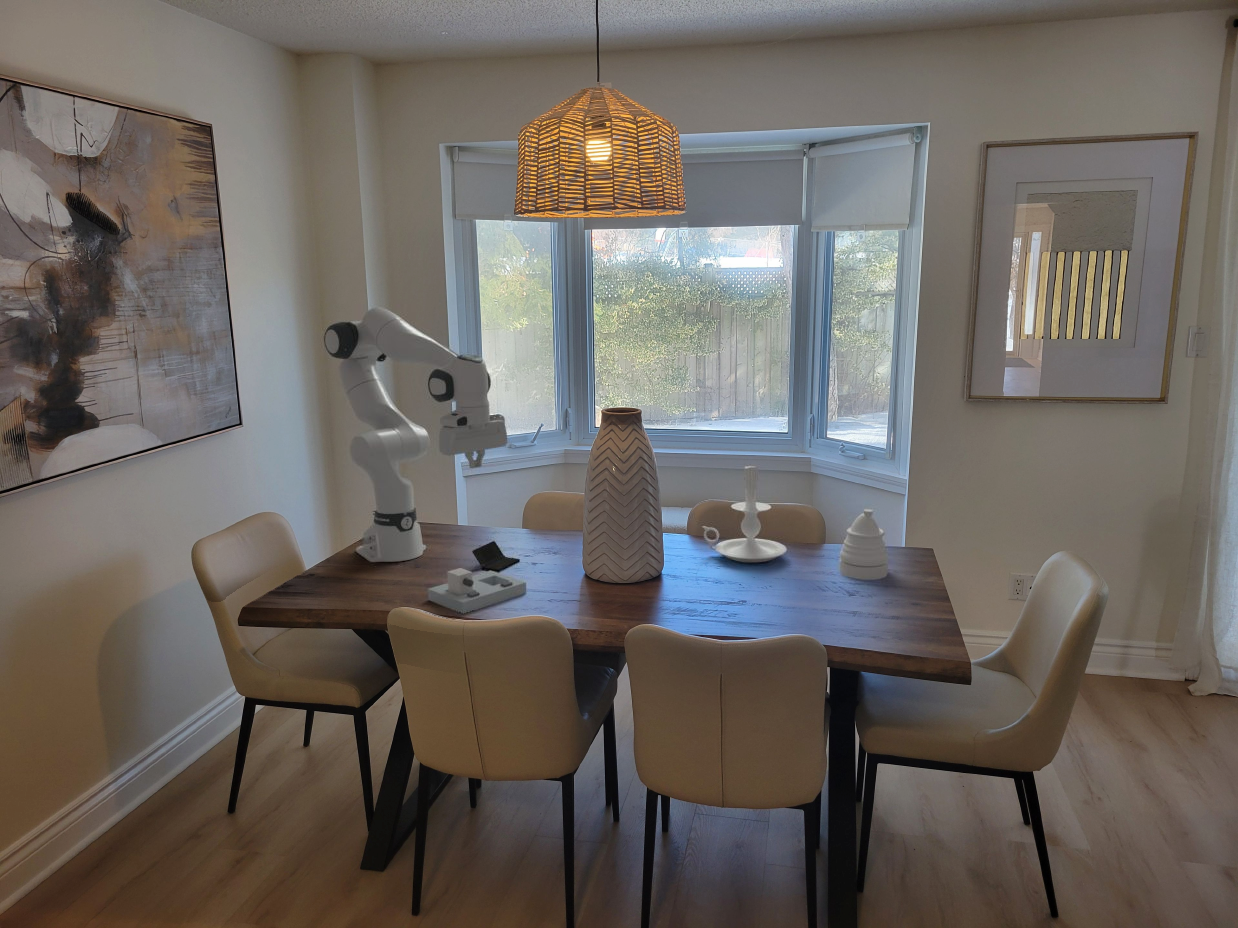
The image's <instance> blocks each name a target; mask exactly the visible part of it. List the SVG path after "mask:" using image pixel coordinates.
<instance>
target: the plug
mask: <svg viewBox="0 0 1238 928" xmlns="http://www.w3.org/2000/svg"><path fill="white" fill-rule="evenodd" d="M446 576H447V583H448V592H449V593H452V594H454V595H457V596H462V595H465V594H467V593H470V592H473V583H474V582H473V580H472V576H473V572H472V571H470V570H467V569H465V568H462V567H459V568H456V569H451V570H448V571H447V573H446Z"/></svg>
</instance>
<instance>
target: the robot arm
mask: <svg viewBox="0 0 1238 928" xmlns="http://www.w3.org/2000/svg"><path fill="white" fill-rule="evenodd" d="M323 339H324V340H323V341H324V347H325V349H326V351H327V353H328V354H329V356H331V357H333V358H335V359H339V360H341V362H340V363H339V365H338V372H339V376H340V379H341V383H342V386H343V389H344V392H345V394H346V397H347V398H348V401H349V403H350V405H351V407H352V410H353V412H354V414H355V417H357V420H359V421H360V422H361V423H364V424H366V425H369V426H371V427H372V428H373V430H368V431H364V432H362V433H360V434H358V435H356V436H354V437H353V438H352V440H351V441H350V444H349V445H350V446H349V455H350V458H351V459H352V461H353V463H354V464H355V466H357V467H358V468H361V469H362V470H364V472H365V473H366V474H367V476H368V477H369V479H370V481H371V483H372V486H373V491H374V499H375V508H376V510H373V511H372V513H373V514H372V515H373V523H371V525H370V526H369V527H368V528H367V529H366V530H365V531H364V533H363V536H362V539H361V540H362V543H363V545H359V546H357V547H356V549H355V552H356V553H357V554H359V555H361V557H363V558H365V560H367V561H368V562H370V563H378V562H379V563H380V562H390V563H391V562H392V563H393V562H394V563H395V562H402V561H408V560H413V559H416V558H418V557H421V556H422V555H423V553H424V551H425V550H426V549H427V546H426V544H423V538H422V537H423V536H422V532H421V531H422V529H421V526H420V523H418V522H417V519H418V518H417V514H418V513H417V508H416V507H415V501H414V500H415V497H414V485H413V483H412V482H411V480H409V479H408V478H406V476H402V475H401V474H400V472H399V471H398V465H399V464H403V463H407V462H408V463H409V462H413V461H415V460H417V459H419V458H421V457H424V456H425V455H426V454H428V452H429V450H430V446H431V439H430V435H429V434H428V432H427V430H426V429H425V428H424V427H423V426H421V425H418V424H416V423H414V422H413V421H412V420H410V419H409V418H407V417H406V416H405V415H404V414H403V413H402V412H401V411H400V410H399V409H398V408H397V407H396V405H395V404H394V402H393V401H392V399H391V397H390V395H389V392H388V391H387V389H386V387H385V385H384V382H383V380H382V379H381V376H380V375H379V372H378V370H377V362H380V363H381V362H384V361H386V360H387V358H389V359H390V360H393V361H395V362H397V363H400V364H401V363H402V364H422V365H429V366H434V367H437V368H435V369H434V370H432V371H431V372H430V375H429V377H428V379H427V388H428V392H429V395H430V396H431V397H432V399H433V400H434V401H436V402H438V403H443V404H445V403H446V404H447V403H453V402H454V403H455V409H454V410H453V411H451V412H449V413H447V414H446V415H444V416H442V417H440V418H439V425H440V426H442V427H441V428H440V430H439V434H438V435H439V436H438V448H439V452H440V453H441V454H442V455H443V456H450V457H451V456H455V455H461V454H462V455H463V454H464V457H465V458H466V459H467V461H468V465H469V468H470V469H474V468H475V469H476V468H481V467H482V466H483V463H482V461H483V459H484V456H485V455H486V452H485V451H486V450H489V449H496V448H497V449H498V448H501V447H506V446H507V444H508V441H509V440H508V434H507V427H506V420H505V417H504V415H502V414H501V413H500V412H497V413H490V402H489V399H488V393H489V391H490V389H491V385H492V384H491V383H492V381H491V375H490V374H489V371H488V369H487V365H486V362H485V360H484V359H483V357H481V356H479V355H473V354H460V355H459V354H458V353H457V352H455V351H454V350H452V349H451V348H449V347H448V346H446V345H445V344H443V343H441V342H439V341H438V340H436V339H434V338H432V337H431V336H428V335H426V334H425V333H423V332H421V331H420V330H418V329H416V328H415V327H414V326H413V325H411V324H410V323H408V322H407V321H405V320H404V319H403V318H402V317H400V316H399V315H398V314H396V313H394V312H392V311H391V310H389V309H386V308H384V307H380V306H377V307H372V308H371V309H369V310H368V311H366V313H365V314H363V317H362V319H358V320H352V321H340V322H335V323H333V324H331V325H329V326H328V327H327V329H325V332H324V337H323ZM474 452H475V453H476V454H477V455H476V459H475V458H474V454H475V453H474Z"/></svg>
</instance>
